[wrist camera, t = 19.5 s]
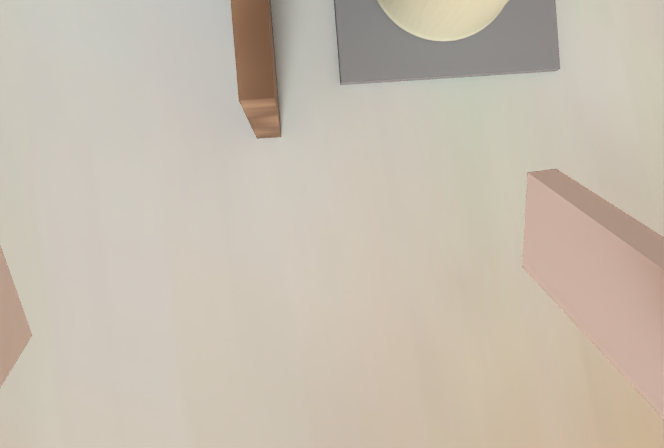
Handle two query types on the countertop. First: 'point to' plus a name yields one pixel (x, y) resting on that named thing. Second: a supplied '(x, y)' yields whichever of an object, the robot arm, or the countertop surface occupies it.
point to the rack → (256, 65)
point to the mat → (444, 45)
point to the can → (442, 16)
